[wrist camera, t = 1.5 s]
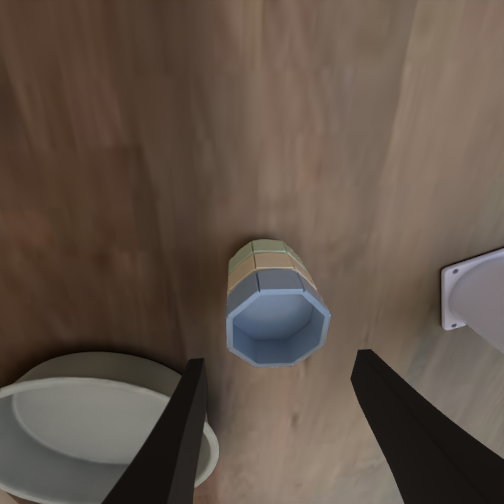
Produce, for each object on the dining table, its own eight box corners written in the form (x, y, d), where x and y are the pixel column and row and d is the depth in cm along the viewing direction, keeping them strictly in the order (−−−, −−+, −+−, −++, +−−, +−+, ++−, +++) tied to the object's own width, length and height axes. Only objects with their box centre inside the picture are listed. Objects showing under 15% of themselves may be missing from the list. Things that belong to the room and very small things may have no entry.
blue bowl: (313, 253, 15) (337, 288, 12) (303, 319, 18) (320, 366, 14) (227, 253, 15) (224, 290, 11) (228, 321, 17) (227, 369, 14)
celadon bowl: (297, 229, 19) (311, 250, 16) (290, 286, 22) (301, 316, 18) (229, 229, 19) (227, 251, 15) (230, 287, 21) (229, 317, 18)
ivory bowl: (304, 240, 17) (322, 266, 14) (296, 301, 20) (309, 337, 16) (228, 240, 17) (226, 267, 13) (229, 302, 19) (228, 340, 16)
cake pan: (85, 481, 34) (65, 527, 30) (-60, 375, 24) (-122, 424, 20) (246, 442, 32) (248, 486, 28) (166, 309, 22) (151, 348, 18)
